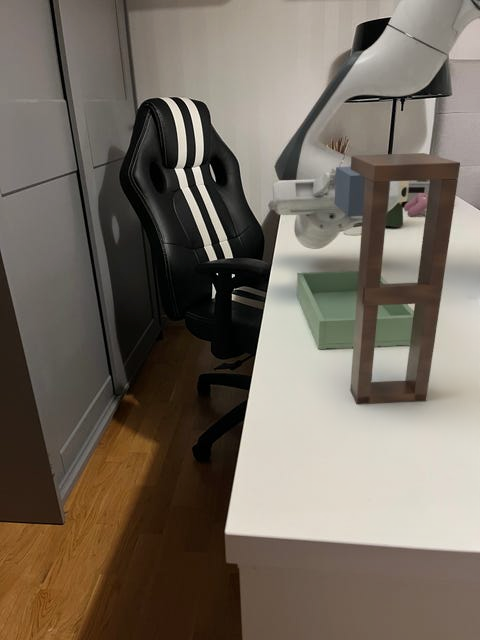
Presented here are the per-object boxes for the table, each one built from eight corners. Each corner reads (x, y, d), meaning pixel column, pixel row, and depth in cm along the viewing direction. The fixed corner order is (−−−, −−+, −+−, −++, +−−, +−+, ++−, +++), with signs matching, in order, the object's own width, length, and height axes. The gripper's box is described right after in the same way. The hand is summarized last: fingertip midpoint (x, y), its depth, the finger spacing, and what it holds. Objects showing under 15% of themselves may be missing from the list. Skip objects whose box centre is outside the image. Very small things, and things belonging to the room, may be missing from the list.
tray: (373, 292, 88) (375, 269, 86) (415, 345, 69) (419, 316, 68) (296, 296, 88) (297, 272, 86) (318, 349, 69) (319, 321, 67)
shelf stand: (399, 362, 65) (424, 153, 54) (426, 400, 57) (460, 162, 46) (338, 365, 65) (351, 155, 54) (356, 404, 57) (375, 165, 46)
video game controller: (420, 222, 141) (435, 200, 138) (406, 215, 141) (420, 192, 138) (415, 215, 150) (429, 194, 147) (402, 208, 150) (415, 187, 147)
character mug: (401, 232, 126) (407, 179, 121) (373, 230, 129) (377, 178, 124) (406, 222, 135) (412, 173, 130) (379, 221, 138) (384, 172, 133)
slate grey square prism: (355, 192, 77) (357, 159, 75) (387, 215, 63) (391, 174, 61) (323, 194, 77) (324, 160, 75) (347, 216, 63) (350, 175, 60)
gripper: (266, 192, 87) (273, 158, 73) (383, 188, 87) (412, 153, 74) (268, 227, 86) (275, 200, 72) (386, 223, 87) (415, 195, 73)
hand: (345, 176), depth 73 cm, fingers closed on slate grey square prism, 3 cm apart
